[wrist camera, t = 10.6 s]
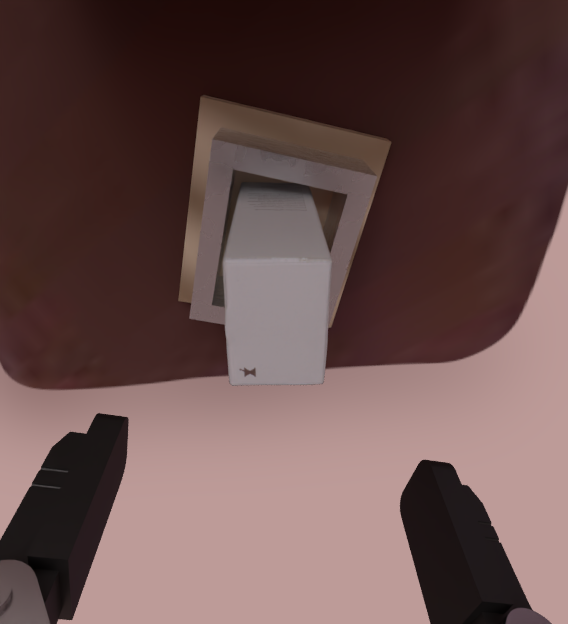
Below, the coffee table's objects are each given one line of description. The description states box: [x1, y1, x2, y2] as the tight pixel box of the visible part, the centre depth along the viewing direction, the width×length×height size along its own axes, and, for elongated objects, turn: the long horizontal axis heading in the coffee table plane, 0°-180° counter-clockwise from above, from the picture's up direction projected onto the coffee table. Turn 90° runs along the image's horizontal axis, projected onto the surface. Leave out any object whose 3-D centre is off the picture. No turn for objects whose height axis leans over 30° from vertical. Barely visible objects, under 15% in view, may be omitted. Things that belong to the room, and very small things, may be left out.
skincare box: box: [222, 182, 332, 386], centre depth 22 cm, size 6×4×12 cm
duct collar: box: [189, 127, 377, 327], centre depth 26 cm, size 10×8×4 cm
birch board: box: [178, 95, 391, 328], centre depth 28 cm, size 13×11×1 cm
